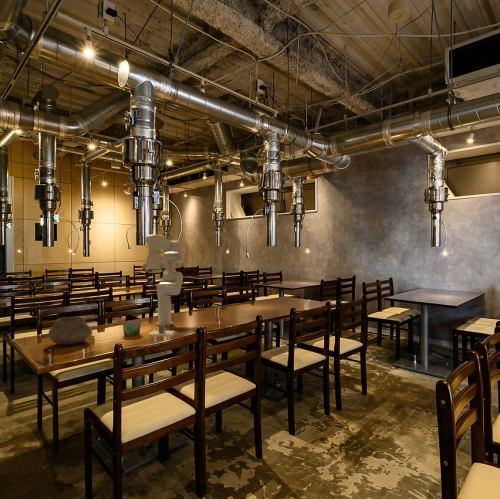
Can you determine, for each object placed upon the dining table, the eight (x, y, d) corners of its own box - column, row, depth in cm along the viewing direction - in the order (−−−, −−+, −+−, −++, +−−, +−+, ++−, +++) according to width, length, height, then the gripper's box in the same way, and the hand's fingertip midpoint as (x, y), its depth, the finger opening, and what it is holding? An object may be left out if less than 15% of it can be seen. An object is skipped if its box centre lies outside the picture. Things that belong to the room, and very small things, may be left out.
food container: (120, 338, 206) (120, 322, 206) (121, 336, 212) (121, 320, 212) (141, 337, 209) (141, 321, 209) (141, 335, 215) (141, 319, 215)
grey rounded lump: (80, 337, 210) (81, 313, 210) (96, 343, 196) (97, 317, 196) (42, 344, 193) (42, 319, 193) (57, 351, 179) (57, 323, 180)
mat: (152, 332, 222) (152, 331, 222) (177, 332, 221) (177, 331, 221) (145, 337, 209) (145, 336, 209) (171, 337, 208) (171, 336, 208)
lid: (152, 332, 220) (152, 323, 220) (175, 332, 220) (175, 323, 220) (147, 335, 210) (147, 326, 210) (170, 335, 210) (170, 326, 210)
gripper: (168, 252, 228) (168, 277, 228) (143, 252, 229) (143, 277, 229) (165, 252, 221) (165, 278, 221) (139, 252, 221) (139, 278, 221)
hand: (154, 277), depth 225 cm, fingers open, 9 cm apart
